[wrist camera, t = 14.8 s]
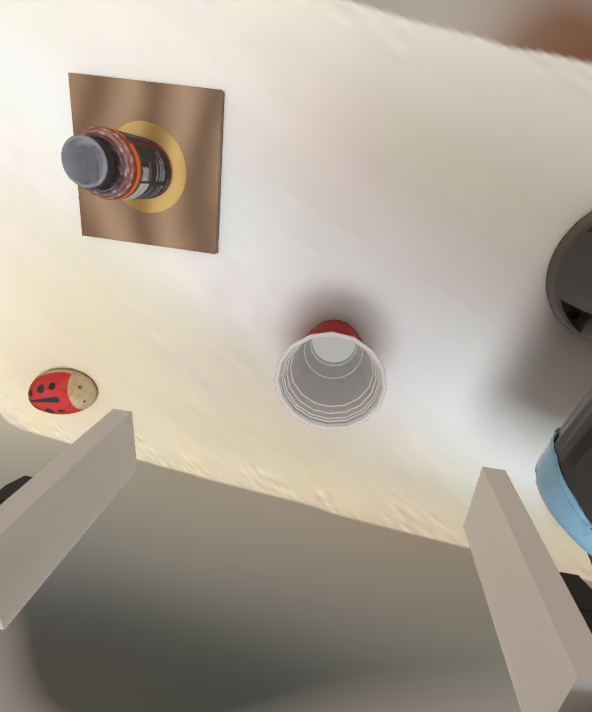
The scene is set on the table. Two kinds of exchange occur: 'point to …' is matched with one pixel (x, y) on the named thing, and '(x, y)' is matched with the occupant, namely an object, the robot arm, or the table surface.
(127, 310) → the table surface
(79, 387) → the ladybug figurine
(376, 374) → the plastic cup
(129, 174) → the supplement bottle
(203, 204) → the walnut board
